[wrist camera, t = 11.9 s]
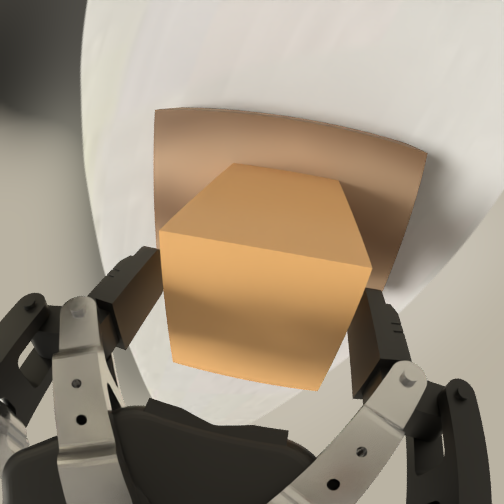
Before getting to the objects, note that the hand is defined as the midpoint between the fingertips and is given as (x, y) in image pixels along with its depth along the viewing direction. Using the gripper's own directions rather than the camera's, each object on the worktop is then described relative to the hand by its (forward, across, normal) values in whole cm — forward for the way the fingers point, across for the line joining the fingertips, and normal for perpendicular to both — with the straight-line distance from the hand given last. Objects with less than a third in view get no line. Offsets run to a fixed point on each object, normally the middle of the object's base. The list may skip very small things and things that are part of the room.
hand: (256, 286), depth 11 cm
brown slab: (+11, 0, 0) cm, 11 cm away
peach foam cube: (+7, 0, +2) cm, 7 cm away
